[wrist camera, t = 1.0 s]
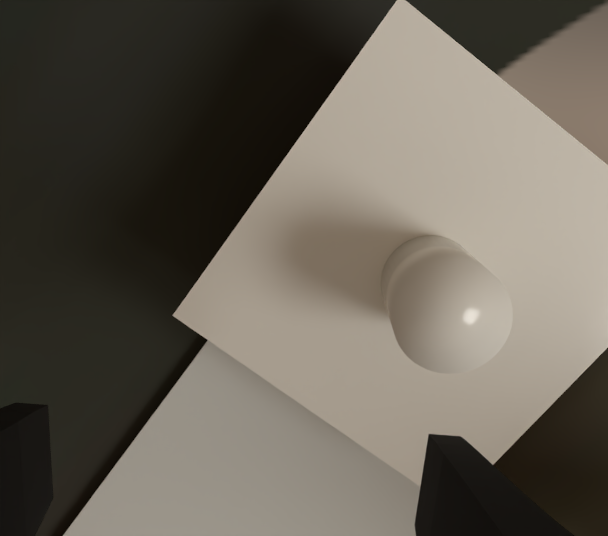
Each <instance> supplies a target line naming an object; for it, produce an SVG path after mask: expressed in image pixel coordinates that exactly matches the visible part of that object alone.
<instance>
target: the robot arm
mask: <svg viewBox="0 0 608 536" xmlns="http://www.w3.org/2000/svg"><path fill="white" fill-rule="evenodd" d="M52 499H53V485H52V468H51V451H50V433H49V416H48V405H39V404H25V403H14V404H11V405H8V406H6V407H3V408H1V409H0V536H35V534H36V532H37V530H38V528H39V526H40V524H41V522H42V520H43V518H44V516H45V514H46V512H47V510H48V508H49V506H50V503H51V501H52ZM414 525H415V532H416V536H574V535H572V534H571V533H570V532H569V531H567V530H566V529H565V528H564V527H562V526H561V525H560V524H559V523H558V522H556V521H555V520H554V519H553V518H552V517H551V516H549V515H548V514H547V513H546V512H545V511H543V510H542V509H541V508H540V507H539V506H538V505H537V504H535V503H534V502H533V501H532V500H531V499H530V498H529V497H528V496H526V495H525V494H524V493H523V492H522V491H521V490H520V489H519V488H517V487H516V486H515V485H514V484H513V483H512V482H511V481H510V480H509V479H508V478H507V477H505V476H504V475H503V474H502V473H501V472H500V471H499V470H498V469H497V468H496V467H495V466H494V465H492V464H491V463H490V462H489V461H488V460H487V459H486V458H485V457H484V456H483V455H482V454H481V453H479V452H478V451H477V450H476V449H475V448H474V447H473V446H472V445H471V444H470V443H468V442H467V441H466V440H465V439H464V438H462V437H461V436H450V435H437V434H429V435H428V441H427V447H426V454H425V460H424V467H423V473H422V480H421V486H420V492H419V499H418V505H417V512H416V518H415V524H414Z"/></svg>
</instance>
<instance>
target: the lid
mask: <svg viewBox="0 0 608 536" xmlns="http://www.w3.org/2000/svg"><path fill="white" fill-rule="evenodd" d="M173 316H174V317H175V318H177V319H178V320H180V321H181V322H182V323H184V324H185V325H187V326H188V327H190V328H191V329H193V330H194V331H196V332H197V333H198V334H200V335H201V336H203V337H204V338H206V339H207V340H209V341H210V342H211V343H213V344H214V345H216V346H217V347H219V348H220V349H222V350H223V351H224V352H226V353H227V354H229V355H230V356H232V357H233V358H235V359H236V360H238V361H239V362H240V363H242V364H243V365H245V366H246V367H248V368H249V369H251V370H252V371H253V372H255V373H256V374H258V375H259V376H261V377H262V378H264V379H265V380H266V381H268V382H269V383H271V384H272V385H274V386H275V387H277V388H278V389H280V390H281V391H282V392H284V393H285V394H287V395H288V396H290V397H291V398H293V399H294V400H295V401H297V402H298V403H300V404H301V405H303V406H304V407H306V408H307V409H309V410H310V411H311V412H313V413H314V414H316V415H317V416H319V417H320V418H322V419H323V420H324V421H326V422H327V423H329V424H330V425H332V426H333V427H335V428H336V429H337V430H339V431H340V432H342V433H343V434H345V435H346V436H348V437H349V438H351V439H352V440H353V441H355V442H356V443H358V444H359V445H361V446H362V447H364V448H365V449H366V450H368V451H369V452H371V453H372V454H374V455H375V456H377V457H378V458H379V459H381V460H382V461H384V462H385V463H387V464H388V465H390V466H391V467H393V468H394V469H395V470H397V471H398V472H400V473H401V474H403V475H404V476H406V477H407V478H408V479H410V480H411V481H413V482H414V483H416V484H417V485H419V486H421V480H422V473H423V467H424V460H425V454H426V447H427V441H428V435H429V434H437V435H450V436H461V437H462V438H464V439H465V440H466V441H467V442H468V443H470V444H471V445H472V446H473V447H474V448H475V449H476V450H477V451H478V452H479V453H481V454H482V455H483V456H484V457H485V458H486V459H487V460H488V461H489V462H490V463H491V464H492V465H493V464H494V463H495V462H496V461H497V460H498V459H499V458H500V457H501V456H502V455H503V454H504V453H505V452H506V451H507V450H508V449H509V448H510V447H511V446H512V445H513V444H514V443H515V442H516V441H517V440H518V439H519V438H520V437H521V436H522V435H523V434H524V433H525V432H526V431H527V430H528V429H529V428H530V426H531V425H532V424H533V423H534V422H535V421H536V420H537V419H538V418H539V417H540V416H541V415H542V414H543V413H544V412H545V411H546V410H547V409H548V408H549V407H550V406H551V405H552V404H553V403H554V402H555V401H556V400H557V399H558V398H559V397H560V396H561V395H562V394H563V393H564V392H565V391H566V390H567V389H568V388H569V387H570V385H571V384H572V383H573V382H574V381H575V380H576V379H577V378H578V377H579V376H580V375H581V374H582V373H583V372H584V371H585V370H586V369H587V368H588V367H589V366H590V365H591V364H592V363H593V362H594V361H595V360H596V359H597V358H598V357H599V356H600V355H601V354H602V353H603V352H604V351H605V350H606V349H607V348H608V165H607V164H606V163H604V162H603V161H602V160H601V159H600V158H598V157H597V156H596V155H595V154H593V153H592V152H591V151H590V150H589V149H587V148H586V147H585V146H584V145H582V144H581V143H580V142H579V141H577V140H576V139H575V138H574V137H573V136H571V135H570V134H569V133H567V132H566V131H565V130H564V129H563V128H562V127H560V126H559V125H558V124H557V123H555V122H554V121H553V120H552V119H550V118H549V117H548V116H546V115H545V114H544V113H543V112H542V111H541V110H539V109H538V108H537V107H536V106H534V105H533V104H532V103H531V102H530V101H528V100H527V99H526V98H525V97H523V96H522V95H521V94H520V93H518V92H517V91H516V90H515V89H514V88H512V87H511V86H510V85H509V84H507V83H506V82H505V81H504V80H503V79H501V78H500V77H499V76H498V75H496V74H495V73H494V72H493V71H491V70H490V69H489V68H488V67H487V66H485V65H484V64H483V63H482V62H480V61H479V60H478V59H477V58H476V57H474V56H473V55H472V54H471V53H469V52H468V51H467V50H466V49H464V48H463V47H462V46H461V45H460V44H458V43H457V42H456V41H455V40H453V39H452V38H451V37H450V36H448V35H447V34H446V33H445V32H444V31H442V30H441V29H440V28H439V27H437V26H436V25H435V24H434V23H433V22H431V21H430V20H429V19H428V18H426V17H425V16H424V15H423V14H421V13H420V12H419V11H418V10H417V9H415V8H414V7H413V6H412V5H410V4H409V3H408V2H407V1H405V0H397V1H396V2H395V4H394V5H393V7H392V8H391V9H390V11H389V12H388V14H387V15H386V16H385V18H384V19H383V21H382V22H381V23H380V25H379V26H378V28H377V29H376V31H375V32H374V33H373V35H372V36H371V38H370V39H369V40H368V42H367V43H366V45H365V46H364V47H363V49H362V50H361V52H360V53H359V54H358V56H357V57H356V59H355V60H354V61H353V63H352V64H351V66H350V67H349V68H348V70H347V71H346V73H345V74H344V75H343V77H342V78H341V80H340V81H339V82H338V84H337V85H336V87H335V88H334V89H333V91H332V92H331V94H330V95H329V97H328V98H327V99H326V101H325V102H324V104H323V105H322V106H321V108H320V109H319V111H318V112H317V113H316V115H315V116H314V118H313V119H312V120H311V122H310V123H309V125H308V126H307V127H306V129H305V130H304V132H303V133H302V134H301V136H300V137H299V139H298V140H297V141H296V143H295V144H294V146H293V147H292V148H291V150H290V151H289V153H288V154H287V156H286V157H285V158H284V160H283V161H282V163H281V164H280V165H279V167H278V168H277V170H276V171H275V172H274V174H273V175H272V177H271V178H270V179H269V181H268V182H267V184H266V185H265V186H264V188H263V189H262V191H261V192H260V193H259V195H258V196H257V198H256V199H255V200H254V202H253V203H252V205H251V206H250V207H249V209H248V210H247V212H246V213H245V215H244V216H243V217H242V219H241V220H240V222H239V223H238V224H237V226H236V227H235V229H234V230H233V231H232V233H231V234H230V236H229V237H228V238H227V240H226V241H225V243H224V244H223V245H222V247H221V248H220V250H219V251H218V252H217V254H216V255H215V257H214V258H213V259H212V261H211V262H210V264H209V265H208V266H207V268H206V269H205V271H204V272H203V273H202V275H201V276H200V278H199V279H198V281H197V282H196V283H195V285H194V286H193V288H192V289H191V290H190V292H189V293H188V295H187V296H186V297H185V299H184V300H183V302H182V303H181V304H180V306H179V307H178V309H177V310H176V311H175V313H174V314H173Z"/></svg>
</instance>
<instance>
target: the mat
mask: <svg viewBox="0 0 608 536" xmlns="http://www.w3.org/2000/svg"><path fill="white" fill-rule="evenodd" d="M419 492H420V486H419V485H417V484H416V483H414V482H413V481H411V480H410V479H408V478H407V477H406V476H404V475H403V474H401V473H400V472H398V471H397V470H395V469H394V468H393V467H391V466H390V465H388V464H387V463H385V462H384V461H382V460H381V459H379V458H378V457H377V456H375V455H374V454H372V453H371V452H369V451H368V450H366V449H365V448H364V447H362V446H361V445H359V444H358V443H356V442H355V441H353V440H352V439H351V438H349V437H348V436H346V435H345V434H343V433H342V432H340V431H339V430H337V429H336V428H335V427H333V426H332V425H330V424H329V423H327V422H326V421H324V420H323V419H322V418H320V417H319V416H317V415H316V414H314V413H313V412H311V411H310V410H309V409H307V408H306V407H304V406H303V405H301V404H300V403H298V402H297V401H295V400H294V399H293V398H291V397H290V396H288V395H287V394H285V393H284V392H282V391H281V390H280V389H278V388H277V387H275V386H274V385H272V384H271V383H269V382H268V381H266V380H265V379H264V378H262V377H261V376H259V375H258V374H256V373H255V372H253V371H252V370H251V369H249V368H248V367H246V366H245V365H243V364H242V363H240V362H239V361H238V360H236V359H235V358H233V357H232V356H230V355H229V354H227V353H226V352H224V351H223V350H222V349H220V348H219V347H217V346H216V345H214V344H213V343H211V342H210V341H209V340H207V342H206V343H205V345H204V346H203V347H202V349H201V350H200V351H199V353H198V354H197V355H196V357H195V358H194V359H193V361H192V362H191V363H190V365H189V366H188V367H187V369H186V370H185V371H184V373H183V374H182V376H181V377H180V378H179V380H178V381H177V382H176V384H175V385H174V386H173V388H172V389H171V390H170V392H169V393H168V394H167V396H166V397H165V398H164V400H163V401H162V402H161V404H160V405H159V406H158V408H157V409H156V411H155V412H154V413H153V415H152V416H151V417H150V419H149V420H148V421H147V423H146V424H145V425H144V427H143V428H142V429H141V431H140V432H139V433H138V435H137V436H136V437H135V439H134V440H133V442H132V443H131V444H130V446H129V447H128V448H127V450H126V451H125V452H124V454H123V455H122V456H121V458H120V459H119V460H118V462H117V463H116V464H115V466H114V467H113V468H112V470H111V471H110V473H109V474H108V475H107V477H106V478H105V479H104V481H103V482H102V483H101V485H100V486H99V487H98V489H97V490H96V491H95V493H94V494H93V495H92V497H91V498H90V499H89V501H88V502H87V504H86V505H85V506H84V508H83V509H82V510H81V512H80V513H79V514H78V516H77V517H76V518H75V520H74V521H73V522H72V524H71V525H70V526H69V528H68V529H67V530H66V532H65V533H64V535H63V536H416V532H415V525H414V524H415V518H416V512H417V505H418V499H419Z"/></svg>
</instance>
